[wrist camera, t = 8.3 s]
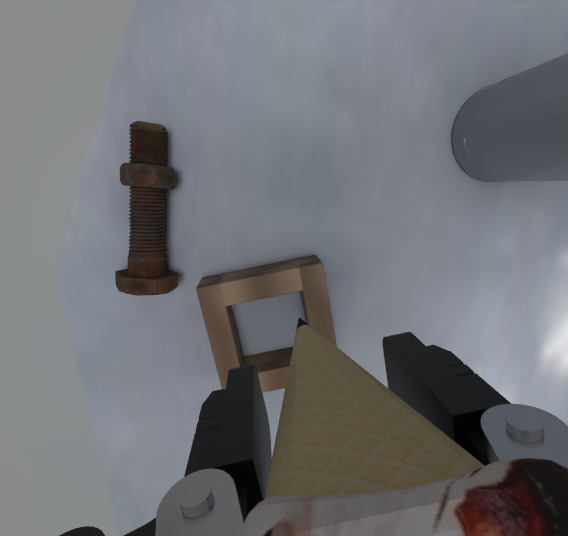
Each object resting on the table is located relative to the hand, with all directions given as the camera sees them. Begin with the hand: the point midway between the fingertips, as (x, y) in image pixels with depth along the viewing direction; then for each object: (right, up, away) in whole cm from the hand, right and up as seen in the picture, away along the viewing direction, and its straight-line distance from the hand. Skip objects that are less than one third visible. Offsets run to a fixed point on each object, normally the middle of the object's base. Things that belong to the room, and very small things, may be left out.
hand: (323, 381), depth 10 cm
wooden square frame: (-3, -2, +28) cm, 28 cm away
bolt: (-14, +9, +25) cm, 30 cm away
